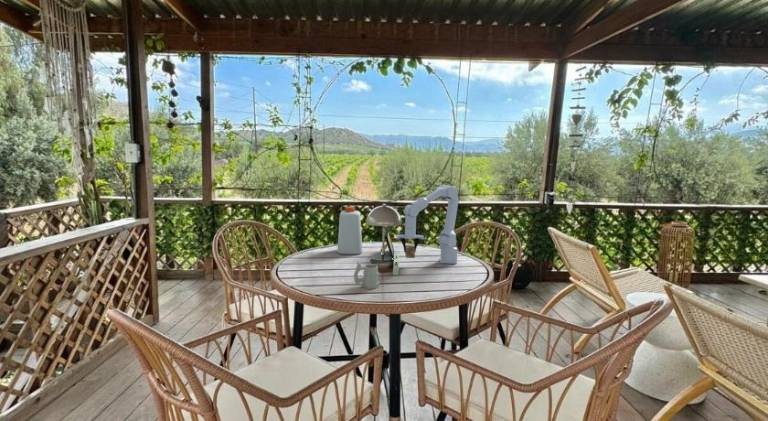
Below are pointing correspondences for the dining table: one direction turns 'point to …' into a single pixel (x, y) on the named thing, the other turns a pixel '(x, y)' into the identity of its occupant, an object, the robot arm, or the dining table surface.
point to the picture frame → (388, 243)
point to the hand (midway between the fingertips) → (409, 251)
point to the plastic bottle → (349, 232)
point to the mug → (367, 276)
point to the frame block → (410, 251)
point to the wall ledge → (395, 264)
